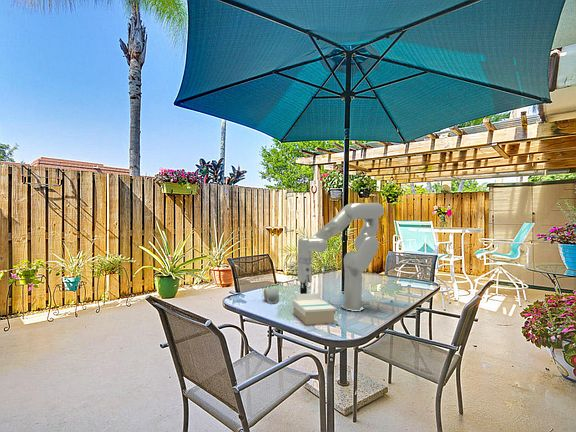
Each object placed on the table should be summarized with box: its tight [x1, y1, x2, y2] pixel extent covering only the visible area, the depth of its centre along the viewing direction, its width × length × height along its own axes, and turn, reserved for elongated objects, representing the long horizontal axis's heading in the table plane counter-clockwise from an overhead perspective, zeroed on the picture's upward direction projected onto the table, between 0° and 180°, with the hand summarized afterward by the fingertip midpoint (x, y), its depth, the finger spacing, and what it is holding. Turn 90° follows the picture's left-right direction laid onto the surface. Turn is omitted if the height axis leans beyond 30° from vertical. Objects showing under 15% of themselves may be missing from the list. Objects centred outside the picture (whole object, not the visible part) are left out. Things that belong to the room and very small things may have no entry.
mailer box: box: [293, 307, 335, 326], centre depth 150 cm, size 14×18×6 cm
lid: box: [292, 292, 337, 317], centre depth 150 cm, size 15×19×6 cm
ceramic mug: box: [263, 287, 280, 305], centre depth 179 cm, size 11×8×8 cm
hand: (303, 295), depth 163 cm, fingers closed
